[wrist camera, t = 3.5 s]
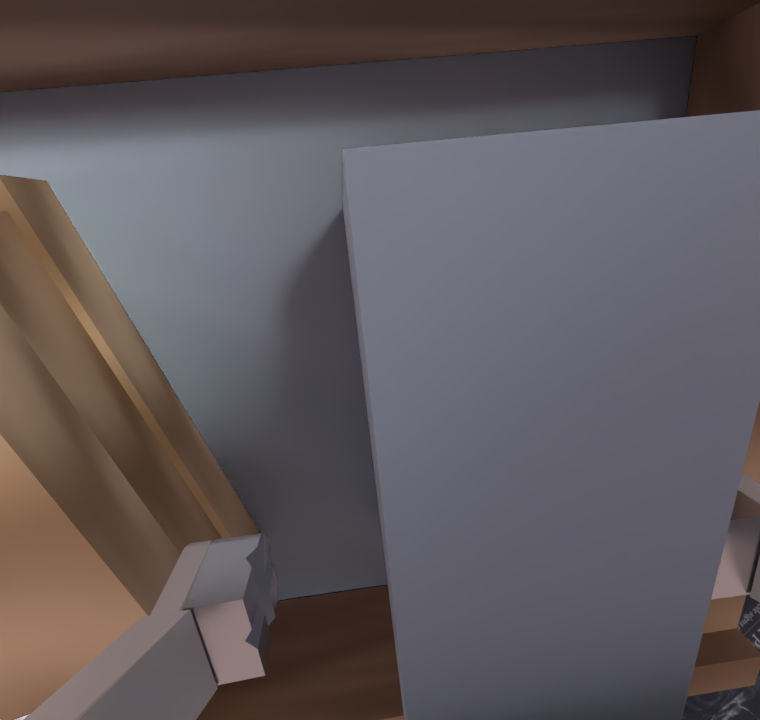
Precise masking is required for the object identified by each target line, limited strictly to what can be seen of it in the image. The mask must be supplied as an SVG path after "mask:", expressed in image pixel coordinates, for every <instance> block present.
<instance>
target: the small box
mask: <svg viewBox="0 0 760 720" xmlns="http://www.w3.org/2000/svg"><path fill="white" fill-rule="evenodd" d="M737 629H738V630H739V631H740V632H741V633H742V634H743V635H744V636H745V637H746V638H747V639H748V640H749V641H750V642H751V643H752V644H753V645H754V646H755V647H756V648H757V649H758V650H759V651H760V602H758V601H756V600H755V599H753V598H751V597H750V594H748V595H746V598H745V602H744V606H743V609H742V613H741V616H740V620H739V623H738V627H737ZM682 720H760V670H759V673H758V676H757V679H756V682H755V685H753V686H747V687H741V688H735V689H729V690H723V691H718V692H712V693H706V694H700V695H694V696H688V697H687V700H686V704H685V708H684V712H683V716H682Z"/></svg>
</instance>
